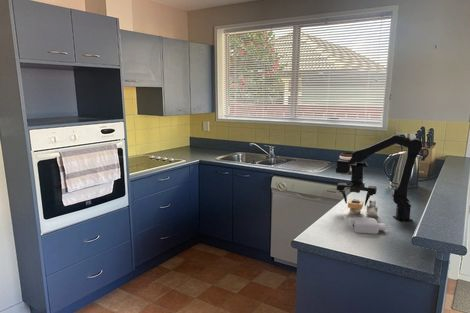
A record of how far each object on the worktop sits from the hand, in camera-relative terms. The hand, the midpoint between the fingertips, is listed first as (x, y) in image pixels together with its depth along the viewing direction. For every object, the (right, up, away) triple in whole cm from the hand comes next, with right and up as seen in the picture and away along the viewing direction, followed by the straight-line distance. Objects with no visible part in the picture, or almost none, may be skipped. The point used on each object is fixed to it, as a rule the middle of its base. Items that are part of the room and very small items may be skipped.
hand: (355, 204), depth 172 cm
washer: (0, -1, 0) cm, 1 cm away
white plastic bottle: (-1, -9, -22) cm, 23 cm away
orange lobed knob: (+7, -5, -2) cm, 9 cm away
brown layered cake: (+28, +12, +98) cm, 103 cm away
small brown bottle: (0, -4, +1) cm, 4 cm away
